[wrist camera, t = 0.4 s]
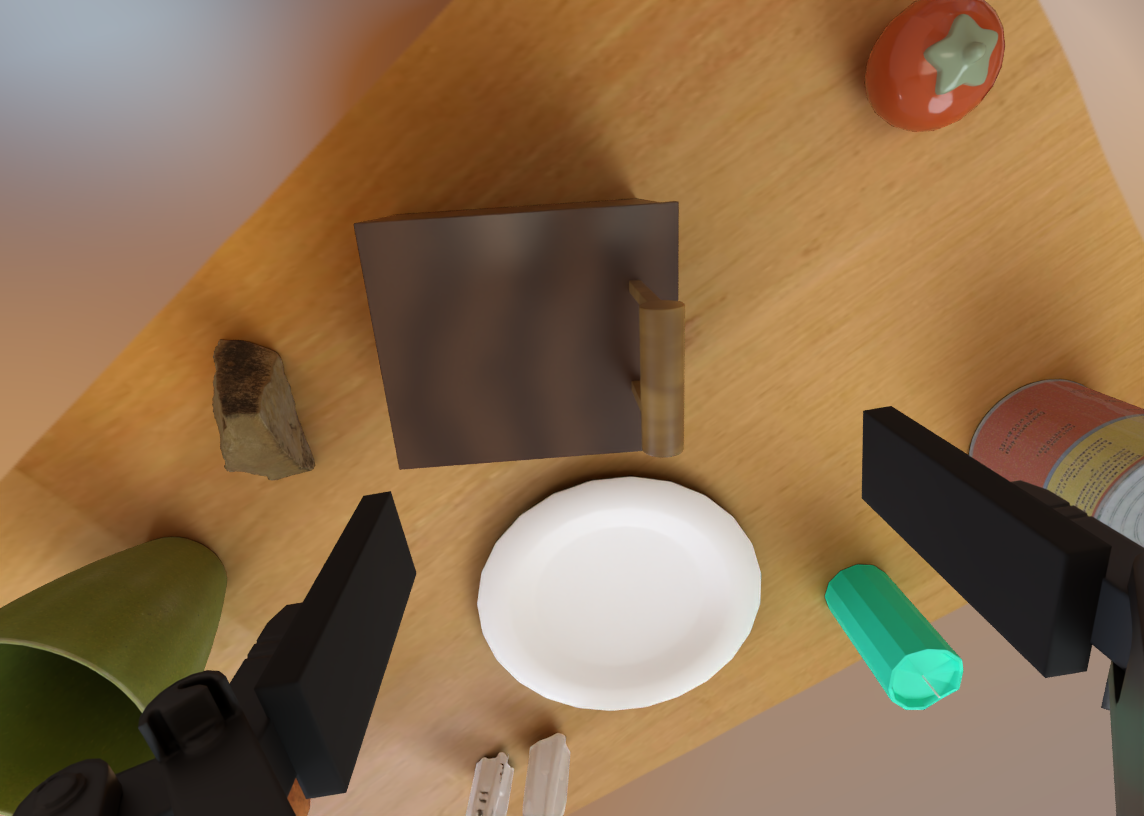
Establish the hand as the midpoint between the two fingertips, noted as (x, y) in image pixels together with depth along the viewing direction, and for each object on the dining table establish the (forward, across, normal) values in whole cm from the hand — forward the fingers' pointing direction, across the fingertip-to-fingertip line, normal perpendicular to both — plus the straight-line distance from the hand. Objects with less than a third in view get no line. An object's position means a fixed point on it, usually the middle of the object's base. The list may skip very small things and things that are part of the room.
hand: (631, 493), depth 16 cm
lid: (+20, -3, 0) cm, 20 cm away
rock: (+29, -24, -4) cm, 38 cm away
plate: (+29, 0, -27) cm, 40 cm away
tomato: (+29, +24, +11) cm, 39 cm away
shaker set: (+29, -13, -44) cm, 55 cm away
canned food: (+29, +36, -18) cm, 50 cm away
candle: (+29, +21, -31) cm, 48 cm away
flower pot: (+29, -37, -17) cm, 50 cm away
